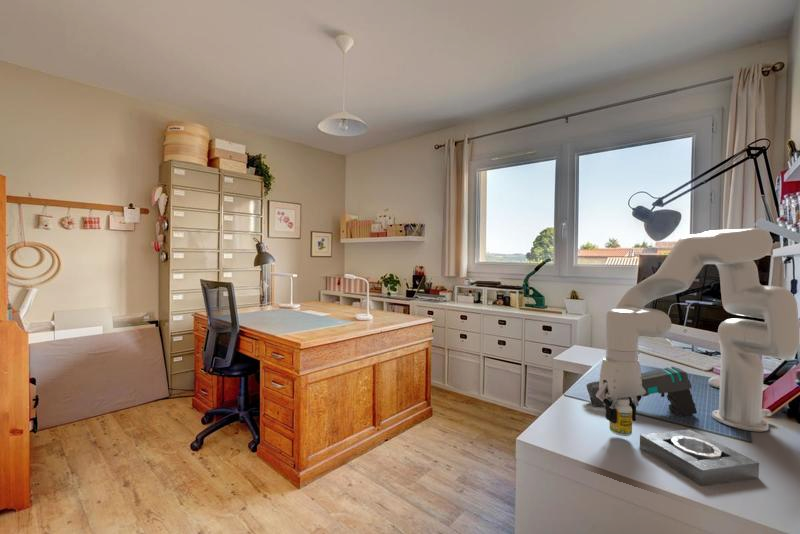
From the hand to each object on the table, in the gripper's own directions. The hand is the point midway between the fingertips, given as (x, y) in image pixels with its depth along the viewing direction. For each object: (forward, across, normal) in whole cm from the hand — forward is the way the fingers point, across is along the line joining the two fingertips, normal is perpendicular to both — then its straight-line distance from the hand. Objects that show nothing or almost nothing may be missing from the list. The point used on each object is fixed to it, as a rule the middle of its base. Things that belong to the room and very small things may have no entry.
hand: (620, 419), depth 100 cm
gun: (+6, -22, -16) cm, 28 cm away
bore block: (+6, -9, +13) cm, 17 cm away
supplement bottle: (+4, 0, 0) cm, 4 cm away
